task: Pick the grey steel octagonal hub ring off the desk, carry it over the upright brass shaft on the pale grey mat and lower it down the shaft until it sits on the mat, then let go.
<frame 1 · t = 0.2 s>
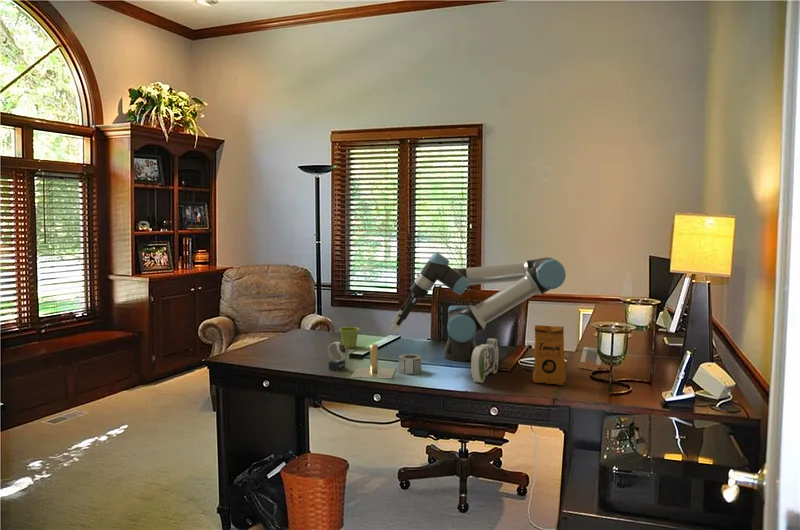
hand: (393, 327, 267), 15 cm above the table, tool tilted 35°, fingers open, 13 cm apart
watch: (337, 369, 258), on the table
hub: (410, 371, 254), on the table
portable electronic device stand: (591, 369, 260), on the table
coffee package: (549, 383, 238), on the table
plant pot: (349, 347, 299), on the table
cutout: (485, 378, 245), on the table
shaft: (373, 373, 251), on the table
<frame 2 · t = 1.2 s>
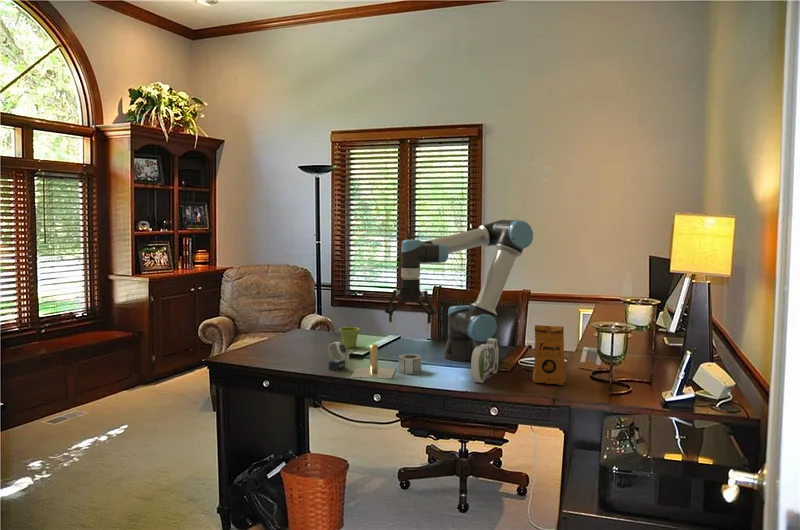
hand: (409, 330, 253), 16 cm above the table, tool pointing down, fingers open, 13 cm apart
nothing on the table moved.
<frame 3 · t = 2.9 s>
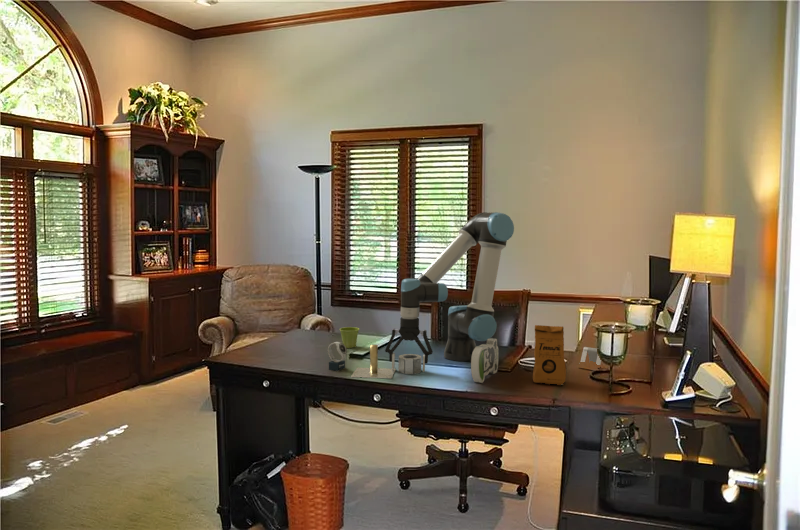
hand: (408, 370, 254), 0 cm above the table, tool pointing down, fingers open, 12 cm apart
nothing on the table moved.
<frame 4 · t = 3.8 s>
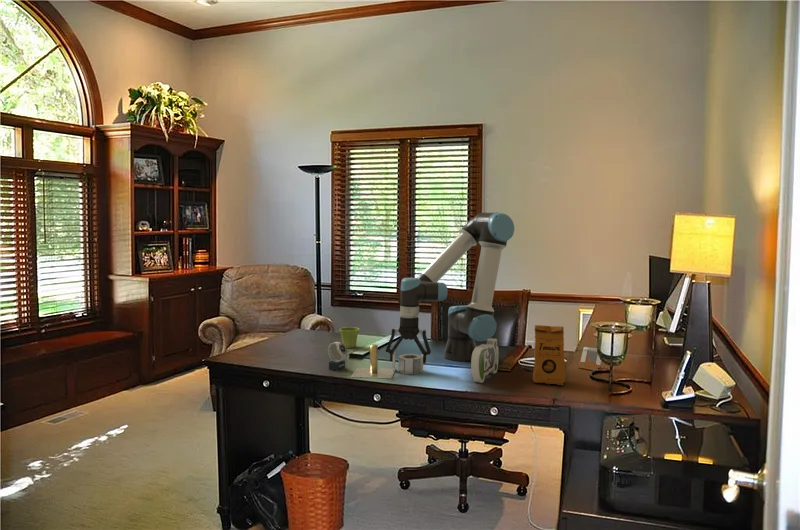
hand: (407, 370, 254), 0 cm above the table, tool pointing down, fingers open, 11 cm apart
hub: (409, 371, 254), on the table, touching gripper
everything else where it was.
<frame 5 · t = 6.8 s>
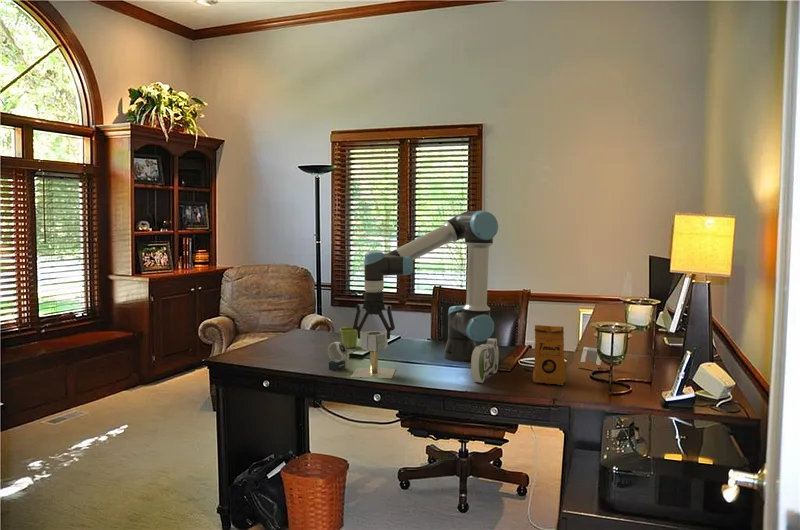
hand: (373, 347, 250), 11 cm above the table, tool pointing down, fingers closed on hub, 9 cm apart
hub: (374, 348, 250), point 10 cm above the table, touching gripper
everything else where it was.
when the fingers open (2 cm above the table, at t = 9.3 s): hub drops 1 cm, resting on shaft.
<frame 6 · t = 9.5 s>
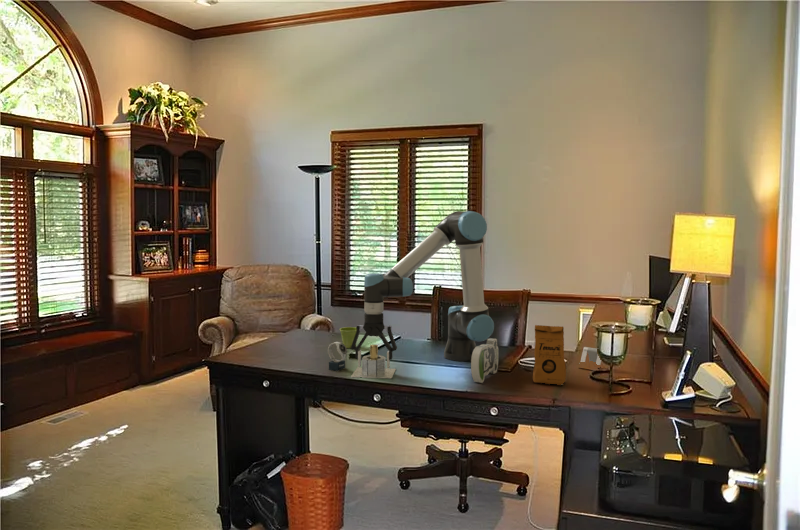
hand: (373, 367, 251), 2 cm above the table, tool pointing down, fingers open, 11 cm apart
hub: (373, 372, 251), resting on shaft
everything else where it was.
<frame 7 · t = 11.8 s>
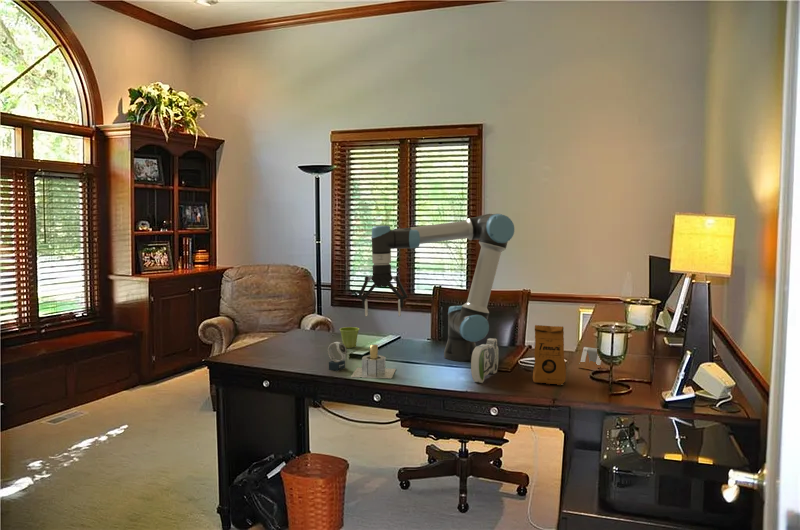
hand: (383, 315, 256), 22 cm above the table, tool pointing down, fingers open, 13 cm apart
nothing on the table moved.
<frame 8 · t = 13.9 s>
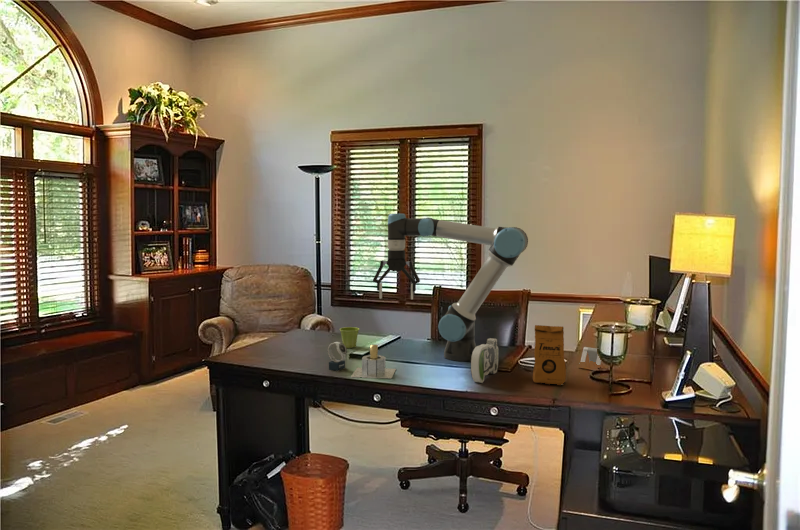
hand: (396, 298, 272), 27 cm above the table, tool pointing down, fingers open, 13 cm apart
nothing on the table moved.
at the end: hub 0.1 cm from the shaft (horizontally); hub resting on shaft; hub tilted 0° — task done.
